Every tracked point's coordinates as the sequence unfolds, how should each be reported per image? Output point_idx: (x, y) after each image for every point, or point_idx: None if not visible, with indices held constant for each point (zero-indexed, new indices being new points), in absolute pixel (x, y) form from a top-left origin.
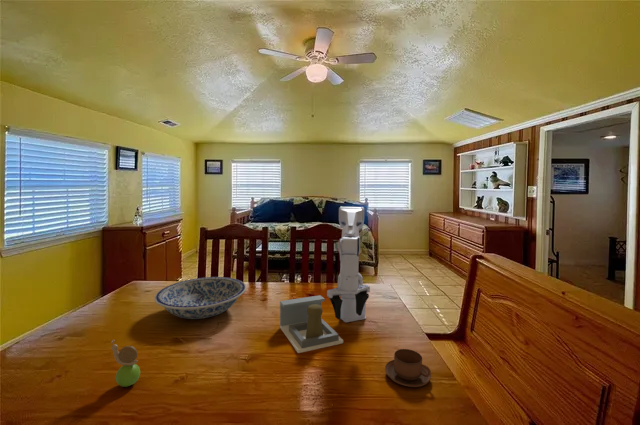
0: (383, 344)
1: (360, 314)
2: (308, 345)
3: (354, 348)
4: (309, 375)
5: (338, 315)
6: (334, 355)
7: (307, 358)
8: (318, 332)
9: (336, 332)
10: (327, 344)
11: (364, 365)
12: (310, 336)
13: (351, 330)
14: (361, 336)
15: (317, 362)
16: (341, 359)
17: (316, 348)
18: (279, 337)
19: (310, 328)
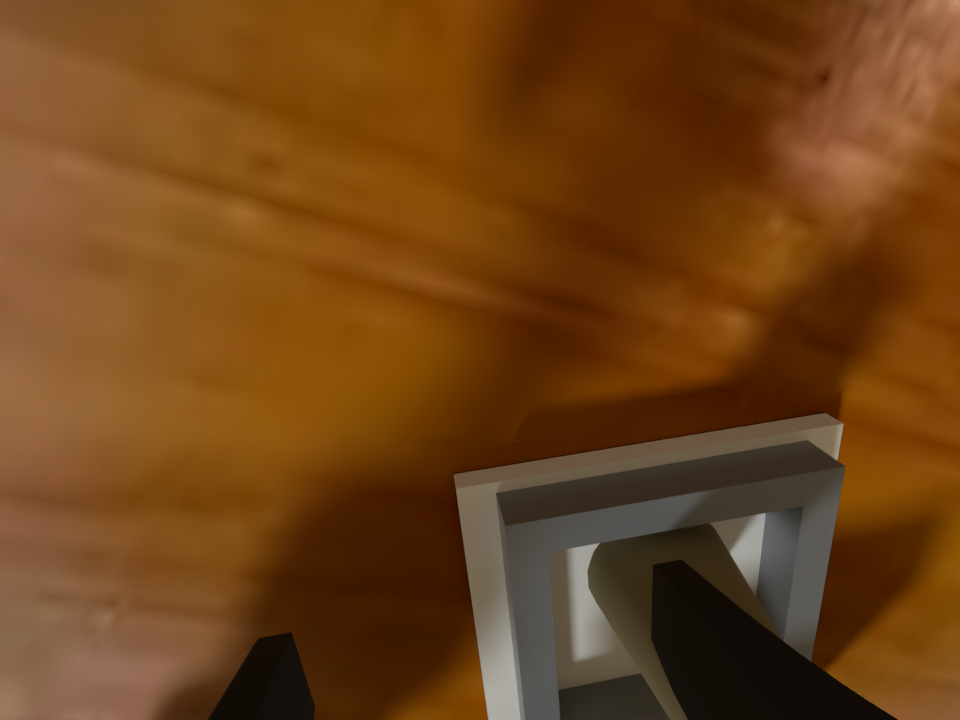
0: (86, 384)
1: (268, 647)
2: (765, 454)
3: (392, 381)
4: (897, 103)
5: (733, 603)
6: (597, 321)
7: (799, 333)
8: None
9: (509, 562)
10: (600, 460)
11: (414, 91)
12: (724, 548)
13: (310, 635)
14: (257, 542)
15: (761, 261)
16: (570, 249)
17: (688, 438)
18: (835, 613)
19: (760, 605)
